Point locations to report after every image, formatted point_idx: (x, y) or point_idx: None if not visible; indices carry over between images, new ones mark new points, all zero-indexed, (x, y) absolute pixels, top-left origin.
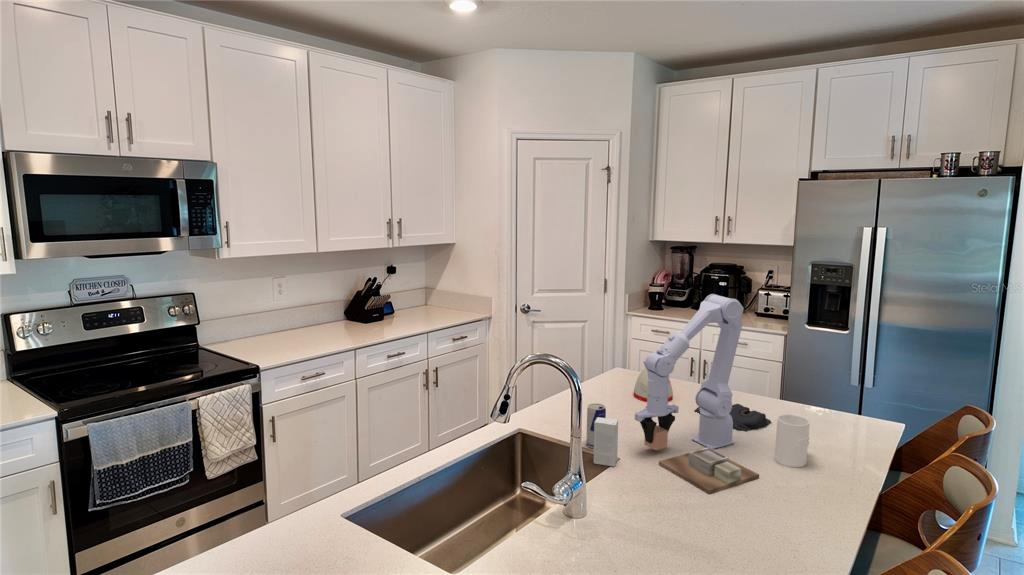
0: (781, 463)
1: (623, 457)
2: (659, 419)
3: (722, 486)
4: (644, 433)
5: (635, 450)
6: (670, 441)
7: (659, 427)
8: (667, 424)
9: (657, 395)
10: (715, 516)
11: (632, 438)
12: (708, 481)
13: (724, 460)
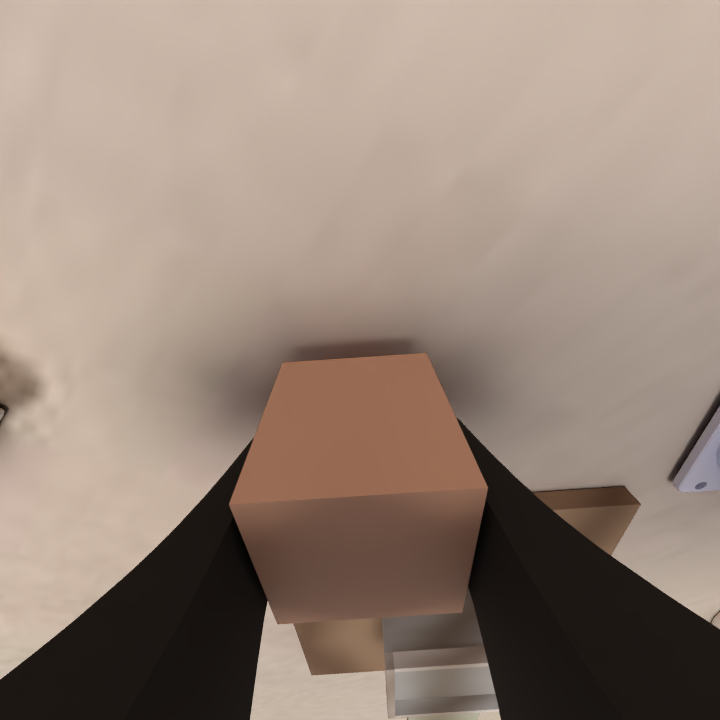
0: (718, 620)
1: (72, 384)
2: (549, 655)
3: (372, 669)
4: (213, 492)
5: (215, 323)
6: (603, 295)
7: (448, 547)
8: (500, 703)
9: None
10: (254, 697)
11: (329, 34)
12: (352, 653)
13: (483, 698)
